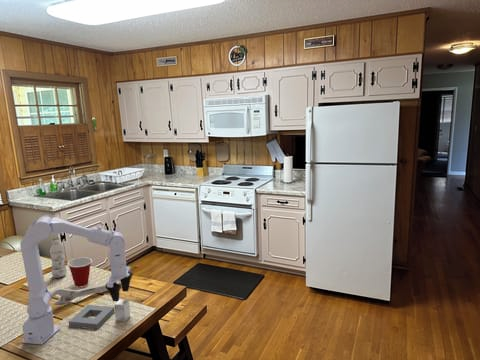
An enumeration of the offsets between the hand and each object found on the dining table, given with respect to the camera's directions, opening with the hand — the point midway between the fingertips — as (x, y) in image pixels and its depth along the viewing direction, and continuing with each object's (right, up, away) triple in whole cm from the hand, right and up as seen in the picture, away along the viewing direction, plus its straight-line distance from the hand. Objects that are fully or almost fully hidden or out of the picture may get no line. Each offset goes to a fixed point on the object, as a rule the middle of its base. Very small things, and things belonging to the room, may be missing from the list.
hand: (120, 295), depth 129 cm
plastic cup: (-30, -5, +30) cm, 43 cm away
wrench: (-21, -7, +18) cm, 29 cm away
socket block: (-12, -10, +1) cm, 15 cm away
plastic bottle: (-46, -4, +39) cm, 60 cm away
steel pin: (0, -9, +1) cm, 10 cm away
